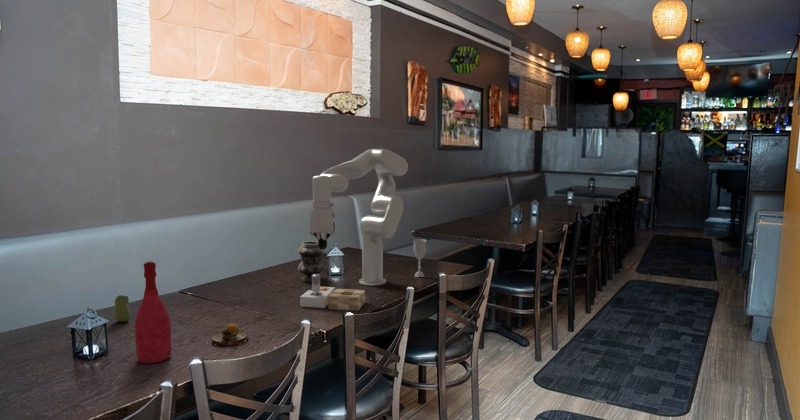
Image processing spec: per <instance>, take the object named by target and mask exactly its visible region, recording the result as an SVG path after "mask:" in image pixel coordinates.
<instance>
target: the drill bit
mask: <svg viewBox="0 0 800 420" xmlns="http://www.w3.org/2000/svg"><path fill="white" fill-rule="evenodd" d="M320 277H321V274H320V273H318V274H312V282H311V290H312V295H314V296H320V287H321V280H320Z"/></svg>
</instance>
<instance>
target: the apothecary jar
mask: <svg viewBox="0 0 800 420" xmlns="http://www.w3.org/2000/svg"><path fill="white" fill-rule="evenodd" d="M297 252H298V254H299V255H300V263H299V264H298V266H297V271H299V273H301V274H304V275H305V276H303V277H300V279H299V280H300V281H301V282H306V283H312V274H320V273H322V272H323V270H324V264H323V263H322V254H323V253H324V250H323V249H321V250H320V249H319V247H318V240H317V241H315V240H306V241H302V242H301V246H299V248H298V251H297ZM321 280H322V277H321V276H320V281H321Z"/></svg>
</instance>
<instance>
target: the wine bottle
mask: <svg viewBox="0 0 800 420" xmlns="http://www.w3.org/2000/svg"><path fill="white" fill-rule="evenodd" d="M143 271H144V273H143V278H144V279H145V289H144V293H143V297H142V300H141V302H140V304H139V308H138V309H137V310H138V311H137V312H136V317H135V322H134V335H135V336H134V337H135V349H136V350H135V351H136V356H137V357H136V359H137V361H139V362H140V363H143V364H156V362H158V363H161V362H164V361H166V360H168V359H169V358H170V357H171V355H172V331H171V330H172V329H171V320H170V319H171V318H170V316H169V311H168V310H167V308H166V306H165V304H164V302H163V300H162V299H161V297H160V295H159V290H158V288H157V284H156V277H157V272H156V263H155V262H154V261H146V262H145V263H143ZM167 358H168V359H167ZM165 359H166V360H165ZM163 360H164V361H163ZM160 361H161V362H160Z"/></svg>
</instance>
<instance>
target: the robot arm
mask: <svg viewBox="0 0 800 420" xmlns="http://www.w3.org/2000/svg"><path fill="white" fill-rule="evenodd" d="M408 168H409V166H408V162H407V160H406V158H404V157H402V156H401V155H399V154H397V153H396V152H393V151H391V150H390V149H386V148H369V149H367V150H365V151H364V152H362V153H360V154H359V155H358V156H356V157H354V158H353V159H351V160H349V161H345V162H343V163H340V164H338V165H334V166H332V167H329V168H327V169H326V170H324V171H323V172H321V174H320V175H319V174H318V175H315V176H312V187H311V188H312V208H311V210H310V216H309V235H311V236H314V237H315V238H316V240H317V242H318V247H319V249H320V250H321V249H323V251H325V250H326V249H327V248H328V239H329V238H330V237H333V236H335V235H336V217H335V211H334V208H332V207H334V206H335V202H332V193H343V192H345V191H346V190H347V189H348V187H349V185H350V184H349V183H350V182H349V180H354V179H359V178H360V179H361V178H362V177H363V176H365V175H366V174H368V173H369V172H370V171H372V170H375V173H376V176H377V180H378V181H377V182H378V185H377V187H376V190H375V193H374V195H373V198H372V201H371V203H370V211H371V212H372V213H373V214H369V215H365V216H363V217H362V218H361V220H360V222H359V231H360V234H361V246H362V248H361V262H362V263H361V266H362V268H361V269H362V271H361V275H362V276H361V278H360V279H358V283H359V284H360V285H364V286H371V287H373V286H376V287H377V286H381V285H385V284H386V283H387V279H386V278H385V277H384V276H383V275H384V274H383V273H384V272H383V271H384V269H383V268H384V267H383V265H384V264H383V263H384V262H383V261H384V255H383V254H384V253H383V250H384V247H383V246H384V245H383V241H382V239H383V238H384V239H390V238H392V237H393V236H394V235H395V233H396V231H397V228H398V227H399V223H400V221H401V217H402V215H403V212H404V202H403V199H402V198H401V197H399V196H398V195H395V192H396V189H397V188H396V182H395V179H394V178H393V176H396V177H397V176H398V177H402V176H404V175H405V174H406V173H407V172H408ZM322 234H323V236H322ZM383 277H384V278H383Z"/></svg>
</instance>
